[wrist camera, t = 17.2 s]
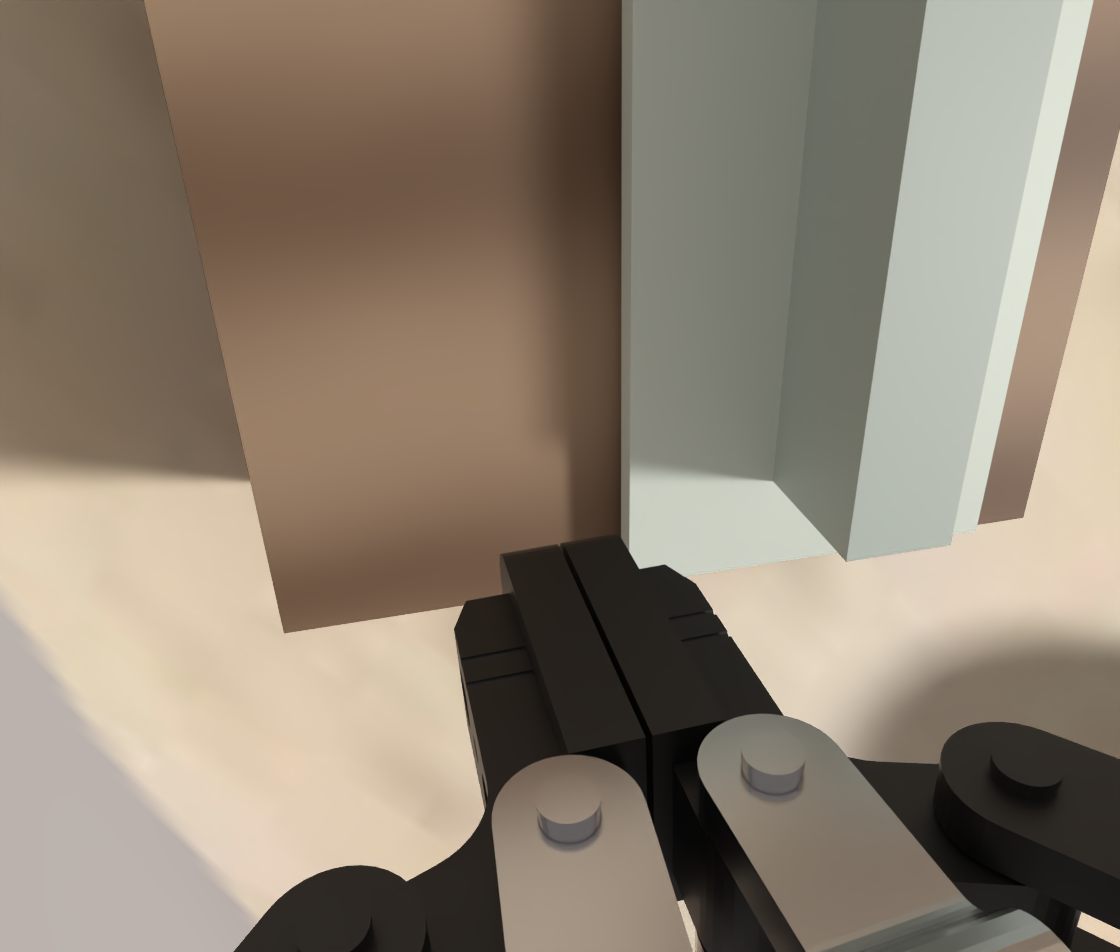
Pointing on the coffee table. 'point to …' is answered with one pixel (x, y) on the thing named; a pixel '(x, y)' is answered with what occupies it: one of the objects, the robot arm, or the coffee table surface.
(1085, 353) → the coffee table surface
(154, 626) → the coffee table surface
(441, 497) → the brown square open box
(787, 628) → the coffee table surface
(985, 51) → the slide cover
